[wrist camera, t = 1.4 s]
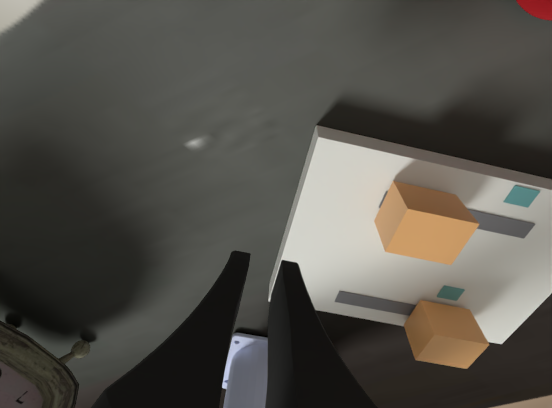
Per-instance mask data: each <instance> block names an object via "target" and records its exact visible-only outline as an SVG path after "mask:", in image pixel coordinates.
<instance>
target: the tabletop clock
mask: <svg viewBox="0 0 552 408" xmlns="http://www.w3.org/2000/svg"><path fill="white" fill-rule="evenodd" d="M89 351H90V345H89V343H88V342H87V341H83V340H81V341H78V342H76V343H75V344H74V345H73V347H72V349H71V352H70V353H69V354H67V355H65V356H63V357H61V358H59V359H58V358H56V357H55V356H54V355H53V354H51V353H50V352H49V351H47V350H46V349H45V348H43V347H42V346H41V345H40V344H38V343H37V342H36V341H34V340H33V339H32V338H30V337H29V336H27V335H26V334H24V333H22V332H20V331H18V330H17V329H16V327H15V326H14V325H13V324H5V323H4V322H2V321H0V408H74V407H75V404H76V400H77V394H78V388H79V384H78V382H77V380H76V378H75V377H74V375H73V373H72V372H71V371H70V370H69V368H68V367H67V366H66V365H65V363H66V362H68V361H69V360H70V359H72V358H73V357H75V358H83V357H85V356H86V355H87V354H88V353H89Z"/></svg>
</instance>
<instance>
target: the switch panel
mask: <svg viewBox="0 0 552 408" xmlns="http://www.w3.org/2000/svg"><path fill="white" fill-rule="evenodd" d="M393 181H396V182H400V183H405V184H409V185H414V186H419V187H423V188H428V189H432V190H437V191H441V192H446V193H450V194H455V195H457V197H458V198H459V199H460V200H461V202H462V203H463V204H464V205H465V207H466V208H467V209H468V210H469V212H470V213H471V214H472V215H473V216H474V218H475V219H476V220H477V221H478V223H479V226H478V227H477V229H476V230H475V232H474V233H473V234H472V236H471V237H470V239H469V240H468V242H467V243H466V245H465V246H464V248H463V249H462V250H461V252H460V253H459V255H458V256H457V258H456V259H455V261H454V262H453V263H452V265H448V264H443V263H438V262H433V261H428V260H423V259H418V258H413V257H408V256H403V255H398V254H393V253H388V252H385V250H384V247H383V245H382V242H381V239H380V236H379V233H378V231H377V228H376V225H375V222H374V220H375V218H376V216H377V214H378V212H379V209H380V207H381V205H382V203H383V201H384V199H385V197H386V195H387V192H388V190H389V188H390V186H391V184H392V182H393ZM282 260H286V261H291V262H296V263H298V265H299V267H300V271H301V274H302V277H303V280H304V283H305V286H306V288H307V291H308V294H309V296H310V298H311V301H312V303H313V305H314V308H315V310H319V311H324V312H329V313H335V314H340V315H346V316H351V317H357V318H362V319H367V320H373V321H378V322H384V323H389V324H395V325H400V326H404V323H405V322H406V320H407V319H408V318H409V316H410V315H411V313H412V312H413V310H414V309H415V307H416V306H417V304H418V303H419V301H420V300H423V301H429V302H434V303H439V304H444V305H449V306H455V307H460V308H465V309H470V311H471V312H472V314H473V316H474V318H475V320H476V321H477V323H478V325H479V327H480V329H481V330H482V332H483V334H484V336H485V338H486V339H487V341H488V342H492V343H498V344H502V343H503V342H504V341H505V340H506V339H507V338H508V337H509V336H510V335H511V334H512V333H513V332H514V331H515V330H516V329H517V328H518V327H519V326H520V325H521V324H522V323H523V322H524V321H525V320H526V319H527V318H528V317H529V316H530V315H531V314H532V313H533V312H534V311H535V310H536V309H537V308H538V306H539V305H540V304H541V303H542V302H543V301H544V300H545V299H546V298H547V297H548V296H549V295H550V294H551V293H552V179H548V178H544V177H540V176H535V175H531V174H527V173H522V172H518V171H514V170H509V169H505V168H501V167H496V166H492V165H488V164H483V163H479V162H475V161H470V160H466V159H462V158H457V157H453V156H448V155H444V154H440V153H435V152H431V151H427V150H422V149H418V148H414V147H409V146H405V145H401V144H396V143H392V142H388V141H383V140H379V139H375V138H370V137H366V136H362V135H357V134H353V133H349V132H344V131H340V130H336V129H331V128H327V127H322V126H318V125H316V127H315V131H314V134H313V137H312V141H311V144H310V148H309V151H308V154H307V158H306V161H305V165H304V168H303V171H302V175H301V178H300V182H299V185H298V188H297V192H296V195H295V198H294V202H293V205H292V209H291V212H290V215H289V219H288V222H287V226H286V229H285V232H284V236H283V239H282V243H281V246H280V249H279V253H278V256H277V260H276V263H275V266H274V270H273V273H272V276H271V280H270V285H269V298H268V301H270V299H271V293H272V290H273V287H274V284H275V280H276V277H277V274H278V271H279V267H280V264H281V261H282Z"/></svg>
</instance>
